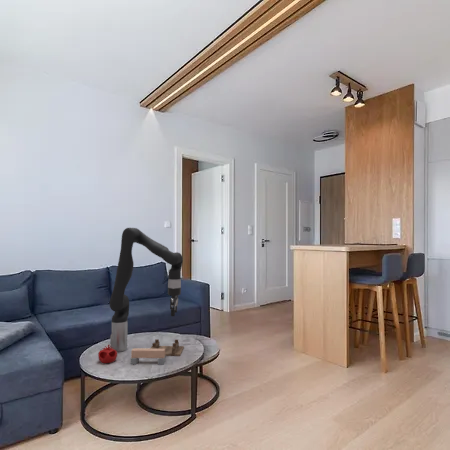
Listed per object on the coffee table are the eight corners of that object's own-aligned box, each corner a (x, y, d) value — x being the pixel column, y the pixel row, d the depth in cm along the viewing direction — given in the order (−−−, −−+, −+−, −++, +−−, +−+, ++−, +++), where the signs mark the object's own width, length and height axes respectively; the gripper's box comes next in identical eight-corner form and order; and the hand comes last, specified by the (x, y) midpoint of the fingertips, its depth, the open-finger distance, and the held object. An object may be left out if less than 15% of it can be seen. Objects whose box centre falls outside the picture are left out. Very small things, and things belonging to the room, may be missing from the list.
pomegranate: (99, 359, 192) (99, 342, 192) (117, 357, 194) (117, 341, 194) (97, 365, 182) (97, 348, 182) (116, 363, 184) (116, 346, 185)
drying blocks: (130, 364, 184) (130, 358, 184) (133, 360, 190) (133, 354, 190) (163, 364, 183) (163, 359, 183) (165, 360, 189) (165, 355, 189)
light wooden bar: (131, 357, 185) (131, 350, 185) (133, 355, 188) (133, 348, 189) (164, 358, 184) (164, 350, 185) (165, 355, 188) (165, 348, 188)
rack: (145, 355, 196) (146, 345, 197) (151, 347, 210) (151, 337, 211) (180, 355, 196) (180, 345, 196) (183, 347, 210) (183, 338, 210)
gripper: (170, 284, 206) (169, 311, 205) (165, 288, 192) (165, 317, 191) (182, 284, 206) (181, 311, 205) (179, 288, 191) (178, 317, 191)
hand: (174, 314), depth 198 cm, fingers open, 8 cm apart
